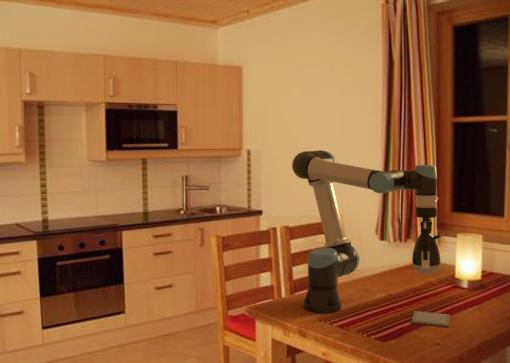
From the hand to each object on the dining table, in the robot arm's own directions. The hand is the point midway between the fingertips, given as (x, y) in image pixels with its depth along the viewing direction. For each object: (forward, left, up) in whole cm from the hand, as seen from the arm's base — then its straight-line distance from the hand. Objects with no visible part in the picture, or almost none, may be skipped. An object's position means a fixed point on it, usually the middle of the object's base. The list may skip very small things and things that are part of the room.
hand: (426, 265), depth 204 cm
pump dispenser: (0, 0, -3) cm, 3 cm away
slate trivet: (+2, 0, -21) cm, 21 cm away
